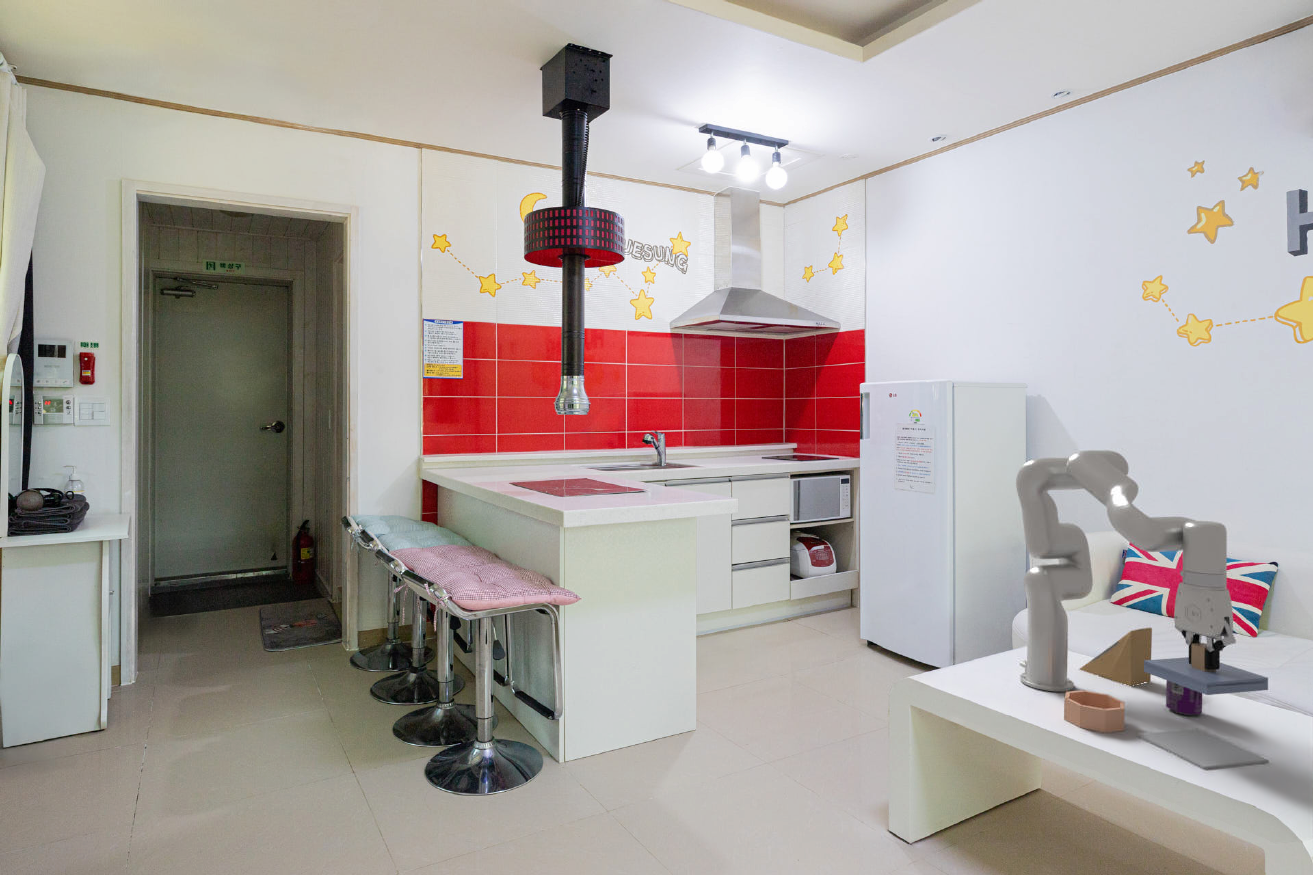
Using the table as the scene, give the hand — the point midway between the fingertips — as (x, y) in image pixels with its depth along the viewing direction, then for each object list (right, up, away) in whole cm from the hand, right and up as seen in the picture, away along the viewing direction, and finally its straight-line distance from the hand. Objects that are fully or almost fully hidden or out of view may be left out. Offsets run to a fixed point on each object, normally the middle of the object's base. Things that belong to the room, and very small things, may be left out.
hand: (1203, 665), depth 158 cm
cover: (0, -3, 0) cm, 3 cm away
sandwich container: (+10, -18, +47) cm, 51 cm away
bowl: (-14, -18, +15) cm, 27 cm away
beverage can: (+11, -18, +21) cm, 30 cm away
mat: (0, -18, +1) cm, 18 cm away
